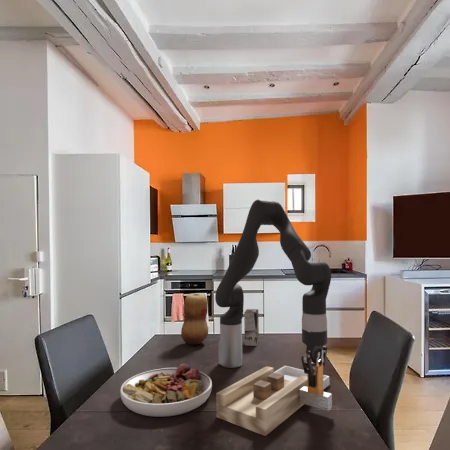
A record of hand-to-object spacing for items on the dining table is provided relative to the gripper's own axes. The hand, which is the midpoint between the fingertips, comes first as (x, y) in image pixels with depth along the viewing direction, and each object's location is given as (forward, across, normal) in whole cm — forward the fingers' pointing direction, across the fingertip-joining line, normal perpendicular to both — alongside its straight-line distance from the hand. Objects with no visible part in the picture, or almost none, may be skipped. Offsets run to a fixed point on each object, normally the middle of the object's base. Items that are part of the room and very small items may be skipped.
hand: (315, 384), depth 110 cm
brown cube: (+5, 0, -14) cm, 15 cm away
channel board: (+9, +6, -14) cm, 17 cm away
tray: (+9, -15, -14) cm, 22 cm away
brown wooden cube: (+5, +8, -14) cm, 17 cm away
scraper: (+6, 0, 0) cm, 6 cm away
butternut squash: (+10, -30, -78) cm, 84 cm away
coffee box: (+9, -48, -56) cm, 74 cm away
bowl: (+9, +20, -44) cm, 49 cm away
